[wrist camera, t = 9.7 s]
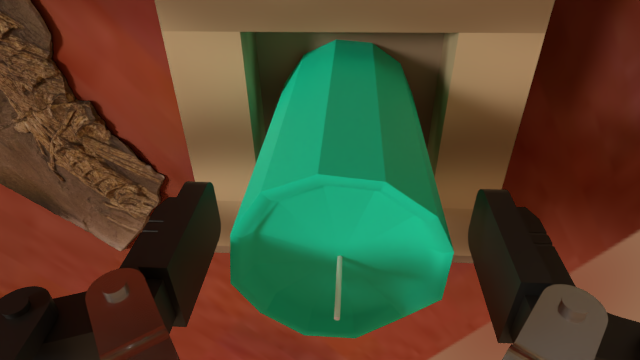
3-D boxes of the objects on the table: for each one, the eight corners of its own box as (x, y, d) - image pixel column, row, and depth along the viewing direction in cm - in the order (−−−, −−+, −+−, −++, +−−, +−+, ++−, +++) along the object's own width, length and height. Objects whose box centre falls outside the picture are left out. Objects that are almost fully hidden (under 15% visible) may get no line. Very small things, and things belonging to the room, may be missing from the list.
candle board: (135, -163, 16) (82, -175, 13) (586, -176, 15) (647, -192, 12) (218, 238, 27) (200, 283, 24) (474, 249, 26) (490, 297, 23)
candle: (298, 164, 22) (250, 392, 12) (268, 51, 19) (170, 235, 9) (416, 150, 21) (469, 384, 11) (406, 27, 18) (470, 205, 8)
